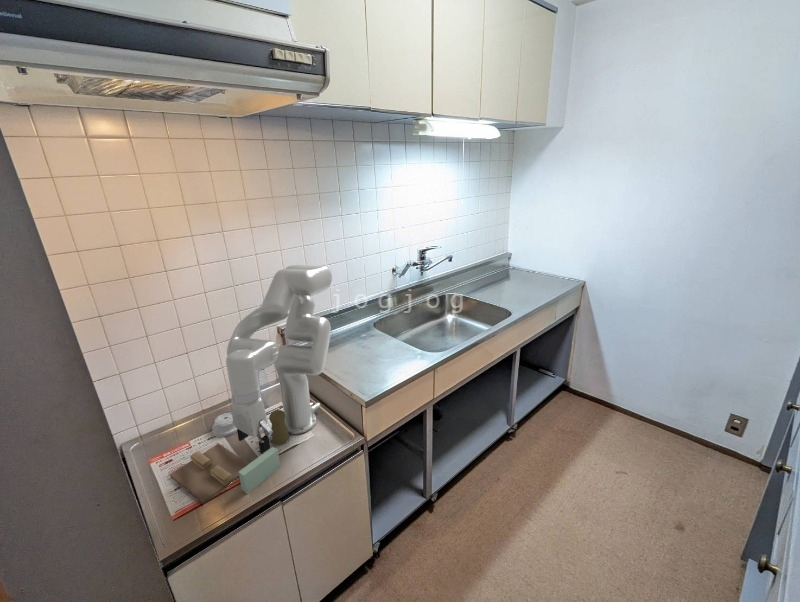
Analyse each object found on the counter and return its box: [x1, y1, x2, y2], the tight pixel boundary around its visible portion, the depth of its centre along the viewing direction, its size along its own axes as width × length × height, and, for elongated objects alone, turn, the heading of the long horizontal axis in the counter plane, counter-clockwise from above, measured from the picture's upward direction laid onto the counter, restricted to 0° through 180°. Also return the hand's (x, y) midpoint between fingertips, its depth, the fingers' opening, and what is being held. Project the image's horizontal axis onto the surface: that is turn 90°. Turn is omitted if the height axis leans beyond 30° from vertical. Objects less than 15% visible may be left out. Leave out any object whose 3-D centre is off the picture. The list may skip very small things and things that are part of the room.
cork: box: [268, 409, 291, 446], centre depth 127 cm, size 6×6×11 cm
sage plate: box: [239, 446, 281, 494], centre depth 112 cm, size 12×2×7 cm, turn 147°
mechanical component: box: [211, 411, 237, 438], centre depth 134 cm, size 10×4×10 cm
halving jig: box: [169, 443, 250, 506], centre depth 115 cm, size 16×18×3 cm
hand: (254, 444), depth 108 cm, fingers open, 9 cm apart
